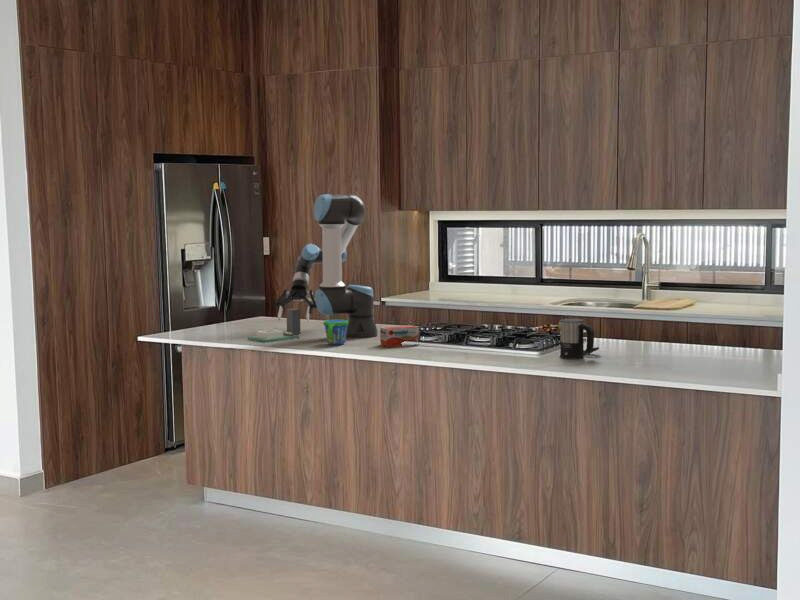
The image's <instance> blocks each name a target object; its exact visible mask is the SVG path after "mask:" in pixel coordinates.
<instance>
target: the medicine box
mask: <svg viewBox="0 0 800 600" xmlns="http://www.w3.org/2000/svg"><path fill="white" fill-rule="evenodd" d="M418 335H419V336H420V328H419V326H414V325H413V324H412V325H396V326H395V325H394V326H384V327H383V326H382V327H380V330H379V339H380V340H379V341H380V346H383V347H386V348H396V347H397V348H398V347H403V346H402V344H401V343H402V342H404V341H413V340H416V339H417V338H418Z"/></svg>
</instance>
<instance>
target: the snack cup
mask: <svg viewBox="0 0 800 600" xmlns="http://www.w3.org/2000/svg"><path fill="white" fill-rule="evenodd" d="M323 325H324V328H325V329H324V330H325V335H326V341H327V344H328V345H330V346H342V345H344V344H345V343H346V339H347V338H346V332H347V325H348V319H339V318H338V319H327V320H324V321H323Z"/></svg>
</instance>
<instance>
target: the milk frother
mask: <svg viewBox="0 0 800 600" xmlns="http://www.w3.org/2000/svg"><path fill="white" fill-rule="evenodd" d="M583 322H584V319H580V318H565V319H559V323H560V336H559V337H560V355H559V358H560V357H561V358H560V359H565V358H566V360H568V359H569V360H578V358H579V359H583V358H584V357H585V356H586V355H588V354H589V355H590V354H592V353H593V352H596V351H598V350H599V349H600V347H599V346H598V347H594V341H595V330H594V328H593V327H592V326H591V325H590V324H587V323H586V324H585V323H583ZM583 329H584V330H586V332H585V333H586V348H585V350H584V346H585V345H584V333H583Z"/></svg>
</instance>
